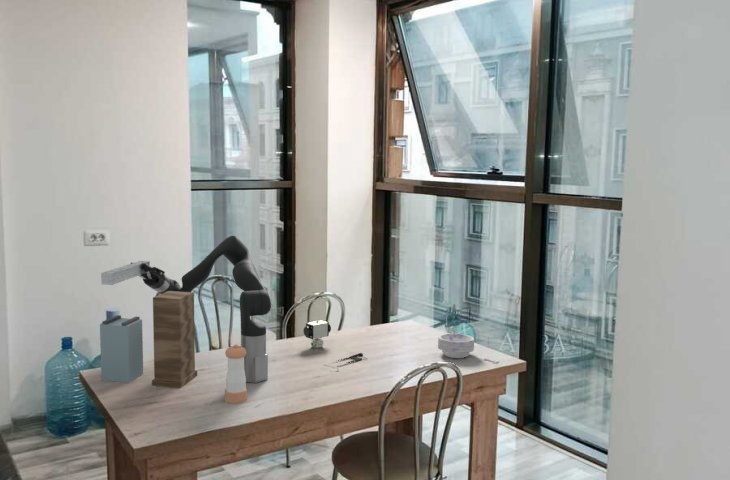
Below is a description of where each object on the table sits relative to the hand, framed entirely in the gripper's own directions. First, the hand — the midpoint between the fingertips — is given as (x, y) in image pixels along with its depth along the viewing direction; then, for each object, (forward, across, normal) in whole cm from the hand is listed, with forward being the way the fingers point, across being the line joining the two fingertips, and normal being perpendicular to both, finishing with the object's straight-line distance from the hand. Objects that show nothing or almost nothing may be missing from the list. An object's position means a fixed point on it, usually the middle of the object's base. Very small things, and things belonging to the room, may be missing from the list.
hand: (136, 265), depth 249 cm
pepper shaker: (-2, +47, +46) cm, 66 cm away
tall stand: (-13, +19, +39) cm, 45 cm away
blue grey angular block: (-12, -2, +40) cm, 42 cm away
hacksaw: (-45, +76, +22) cm, 91 cm away
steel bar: (+4, 0, +6) cm, 8 cm away
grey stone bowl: (-64, +118, +11) cm, 134 cm away
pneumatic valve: (-61, +58, +12) cm, 85 cm away
